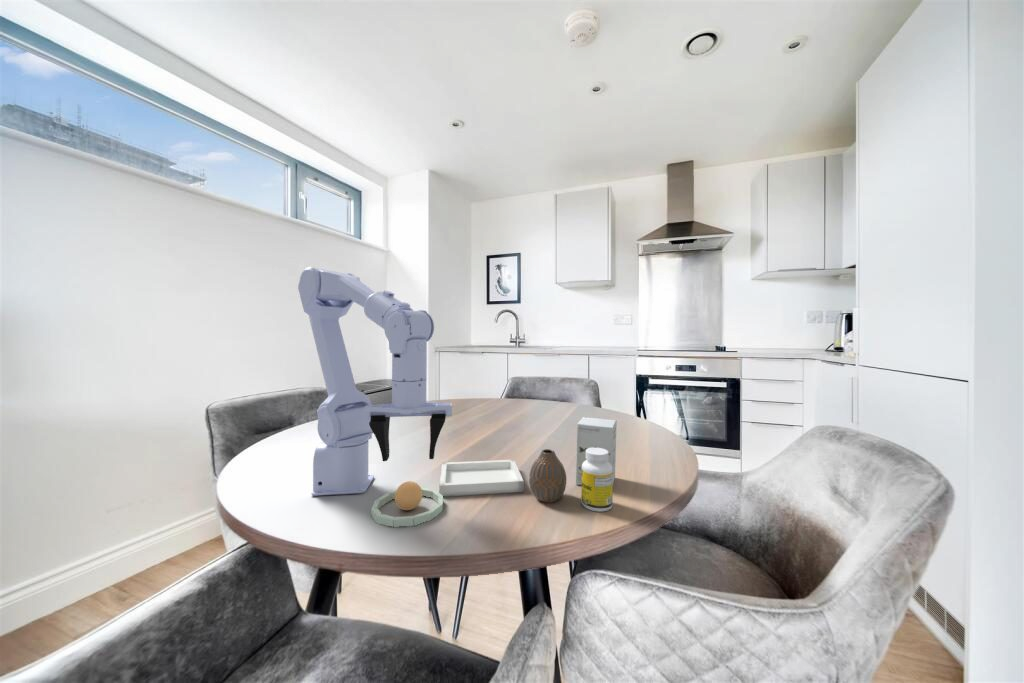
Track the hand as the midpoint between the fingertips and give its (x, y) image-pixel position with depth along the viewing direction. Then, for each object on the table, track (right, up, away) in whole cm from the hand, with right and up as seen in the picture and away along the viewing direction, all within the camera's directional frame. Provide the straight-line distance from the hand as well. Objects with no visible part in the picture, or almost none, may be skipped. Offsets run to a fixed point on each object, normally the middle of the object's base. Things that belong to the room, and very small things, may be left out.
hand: (409, 458), depth 61 cm
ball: (0, -7, 0) cm, 6 cm away
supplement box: (+35, -9, +13) cm, 39 cm away
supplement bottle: (+33, -9, +2) cm, 34 cm away
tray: (+11, -9, +12) cm, 19 cm away
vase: (+24, -9, +5) cm, 27 cm away
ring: (0, -9, 0) cm, 9 cm away
